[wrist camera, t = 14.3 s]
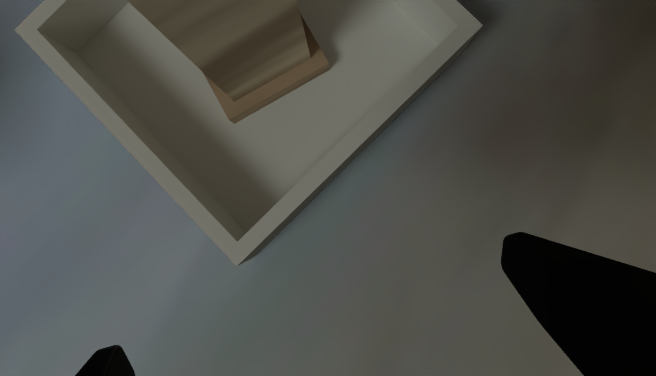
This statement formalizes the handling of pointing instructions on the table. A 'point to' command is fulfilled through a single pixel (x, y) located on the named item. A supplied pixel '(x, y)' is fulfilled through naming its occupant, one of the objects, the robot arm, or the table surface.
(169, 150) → the box
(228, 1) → the stepped wooden block
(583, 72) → the table surface
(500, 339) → the table surface
